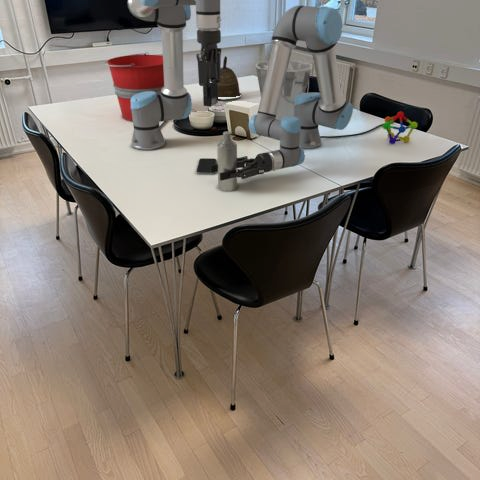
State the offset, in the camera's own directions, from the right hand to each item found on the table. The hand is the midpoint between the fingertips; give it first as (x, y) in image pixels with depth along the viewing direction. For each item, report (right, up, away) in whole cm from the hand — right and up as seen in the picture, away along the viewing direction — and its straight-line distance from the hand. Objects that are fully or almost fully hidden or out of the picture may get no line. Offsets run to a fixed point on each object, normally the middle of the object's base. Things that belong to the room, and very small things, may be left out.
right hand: (215, 173), depth 163 cm
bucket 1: (-44, +45, +85) cm, 106 cm away
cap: (-1, +24, -12) cm, 27 cm away
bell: (+1, +66, +119) cm, 136 cm away
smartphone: (-5, +6, +22) cm, 23 cm away
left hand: (-1, +22, -11) cm, 25 cm away
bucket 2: (+32, +42, +81) cm, 97 cm away
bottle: (+4, -5, +6) cm, 8 cm away
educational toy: (+83, +21, +48) cm, 99 cm away
